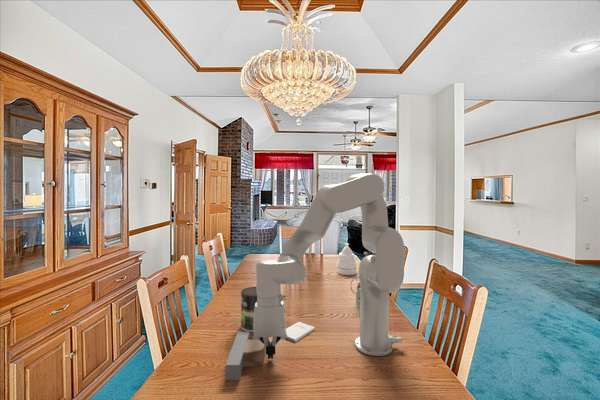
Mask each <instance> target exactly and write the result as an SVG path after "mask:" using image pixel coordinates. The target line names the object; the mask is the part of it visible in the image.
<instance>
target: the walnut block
mask: <svg viewBox="0 0 600 400" xmlns="http://www.w3.org/2000/svg"><path fill="white" fill-rule="evenodd" d="M265 356H266V346H265V345H264V344H263V343H262V342H261V341H260V340H254V339H253V338H252V339H251V338H249V339H247V342H246V345H245V349H244V352H243V367H264V365H265V364H264V363H265V362H264V361H265Z"/></svg>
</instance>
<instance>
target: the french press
mask: <svg viewBox="0 0 600 400" xmlns="http://www.w3.org/2000/svg"><path fill="white" fill-rule="evenodd" d="M363 255H365V256H364V257H366V256H368V255H369V253H368V252H367V251H363ZM356 278H357V279H358V278H359V273H356V277H354V278H353V279H351V281H350V285H352V283H353V281H355V280H356ZM350 290H351V292H352V293H353V294H355V295H356V296H355V302H354V303H353V304H354V306H355V307H356V308H359V309H360V295H361V292H360V281H359V282H358V283H357V286H356V291H354V290H353V287H350Z"/></svg>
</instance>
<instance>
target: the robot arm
mask: <svg viewBox="0 0 600 400" xmlns="http://www.w3.org/2000/svg"><path fill="white" fill-rule="evenodd" d="M384 191H385V182H384V179H383V178H382V177H381V176H380V175H378V174H376V173H373V172H372V173H370V172H369V173H356V174H352V175H350V176H349V177H348V178H347V179H346V180H345V182H342V183H338V184H326V185H323V186H321V187H320V189H319V190H318V191H317V192H316V194H315V196H314V198H313V200H312V202H311V204H310V206H309V208H308V210H307V211H306V213H305V214H304V217H303V219H302V221H301V223H300V224H299V226H298V227H297V228H296V229H295V231H294V232H293V233H292V235H291V236H290V237H289V239H288V240H287V241H286V243H285V245H284V247H283V249H282V251H281V253H280V255H279V256H278V260H276V259H272V258H271V259H261V260H259V261H257V262H256V264H255V276H256V278H255V281H256V283H255V284H256V286H255V287H257V302H256V303H255V308H254V322H253V332H252V333H253V336H252V339H254V340H260V341H261V342H262V343H263V344H264V345H265V356H267V359H268V360H270V359H271V360H274V355H276V346H277V344H278V343H279V341H280V340H284V339H285V338H287V333H286V329H287V316H286V308H285V303H284V301H285V300H286V295H285V294H282V290H281V289H282V288H281V287H282V285H293V286H294V285H298V284H299V285H300V284H302V282H304V280H305V278H307V277H306V276H307V268H306V266H305V264H304V263H303V262H301V261H302V259H303V257H304V255H305V254H306V252H307V251H308V249H309V248H310V247H311V246H312V245H313V244H314V243H316V242H318V241H320V240H321V239H322V238H324V237H325V235H326V233H327V231H328V229H329V227H330V226H331V224H332V222H333V219H334V218H335V216H336V214H339V213H345V212H349V211H352V210H354V209H356V208H360V211H361V242H362V246H363V247H364V248H365V250H367V251H369V252H371V253H373V254H368V255H366V257H365V256H363V258H362V259H361V260H360V263H359V265H358V274H359V279H358V280H359V282H360V288H359V289H360V292H361V293H360V294H361V295H360V308H359V336H358V337H356V338H355V340H354V346H355V348H356V349H357V350H358V351H359V352H360V353H363V354H365V355H368V356H374V357H383V356H388V355H390V354H391V353H392V352H393V345H394V344H402V343H403V338H402V337H400V336H397V335H396V334H390V333H389V315H390V314H389V312H390V311H389V310H390V309H389V307H390V295H389V294H391V293H396V292H397V291H398V290H400V288H401V286H402V285H403V282H404V278H405V243H404V239H403V237H402V235H401V234H400V232H399V231H398V230H397V229H395V228H393V227H390V226H389V219H388V217H389V216H388V207H387V206H388V205H387V203H386V200H385V197H384V196H383V194H384ZM271 337H272V339H271V341H270V339H269V338H271ZM285 340H286V339H285Z"/></svg>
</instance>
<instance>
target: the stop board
mask: <svg viewBox="0 0 600 400" xmlns="http://www.w3.org/2000/svg"><path fill="white" fill-rule="evenodd" d="M247 339H250V332H247V331H237V333H236V336H235V339H234V340H233V343H232V347H231V348H230V352H229V354H228V358H227V359H226V362H225V367H224V368H225V375H224V376H225V381H241V376H242V373H243V369H244V366H243V352H244V349H245V345H246V342H247Z"/></svg>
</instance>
